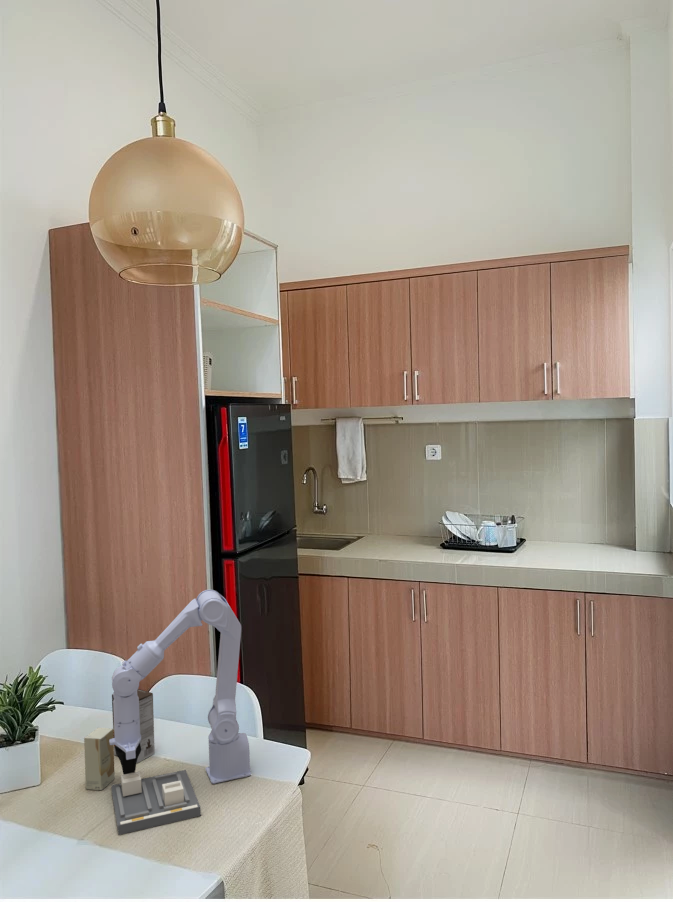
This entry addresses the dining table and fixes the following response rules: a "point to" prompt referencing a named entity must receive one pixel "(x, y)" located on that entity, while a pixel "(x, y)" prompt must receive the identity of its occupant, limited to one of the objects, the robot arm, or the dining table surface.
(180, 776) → the switch board
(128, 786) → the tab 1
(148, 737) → the coffee box
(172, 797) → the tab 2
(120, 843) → the dining table surface
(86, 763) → the skincare box
